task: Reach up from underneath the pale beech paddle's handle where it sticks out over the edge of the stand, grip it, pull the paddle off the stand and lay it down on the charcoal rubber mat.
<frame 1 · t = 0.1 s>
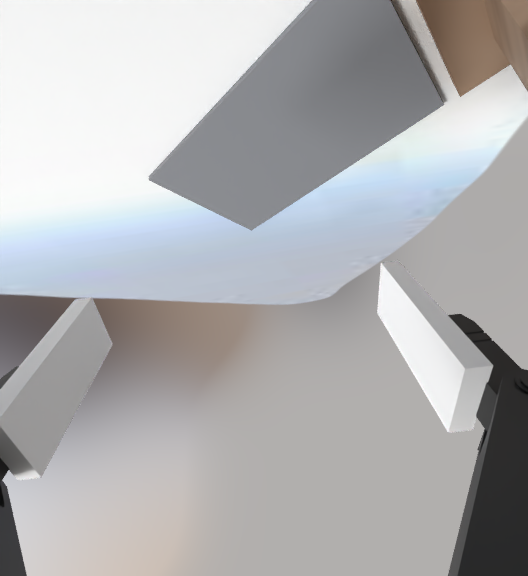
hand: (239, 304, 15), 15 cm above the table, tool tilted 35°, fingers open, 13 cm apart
mat: (285, 141, 26), on the table
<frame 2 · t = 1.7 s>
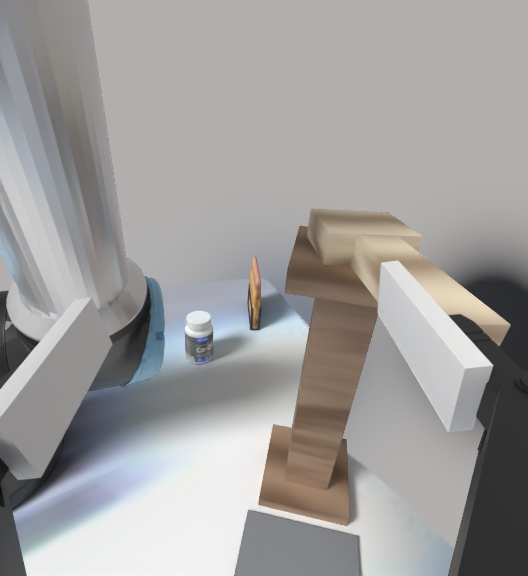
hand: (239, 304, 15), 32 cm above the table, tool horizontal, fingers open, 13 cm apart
ammunition clip: (253, 316, 72), on the table
paddle: (383, 282, 23), point 30 cm above the table, touching stand
stand: (305, 473, 42), on the table
pill bottle: (199, 356, 59), on the table
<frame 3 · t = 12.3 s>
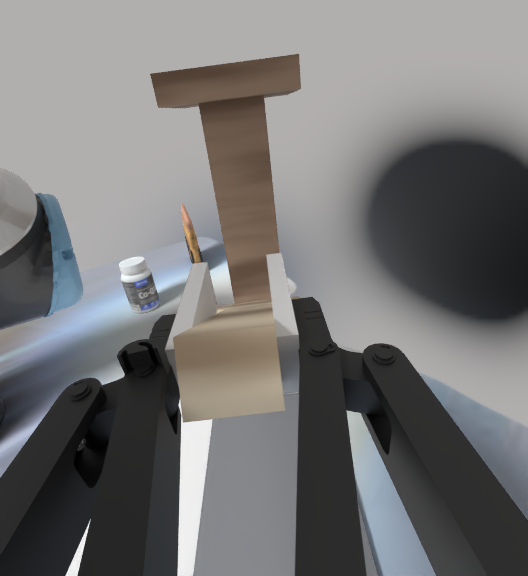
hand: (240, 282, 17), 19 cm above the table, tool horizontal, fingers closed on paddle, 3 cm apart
mat: (277, 493, 27), on the table
ammunition clip: (197, 265, 70), on the table
paddle: (251, 355, 18), point 15 cm above the table, tilted 28°, touching gripper
stand: (268, 360, 41), on the table
pill bottle: (146, 307, 57), on the table
when the fingers open (9 cm above the table, at t = 15.0 s): paddle drops 5 cm, resting on mat.
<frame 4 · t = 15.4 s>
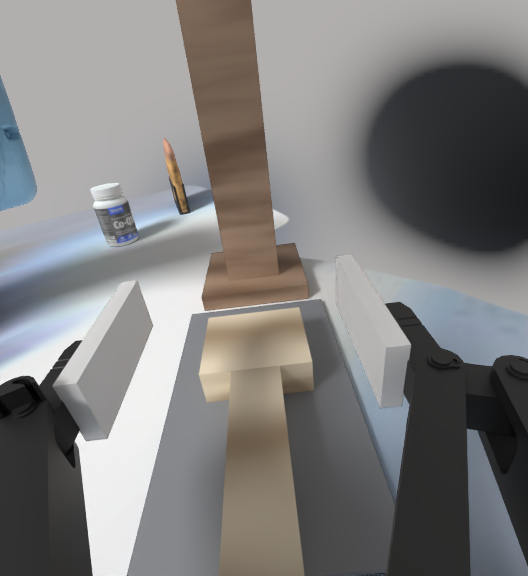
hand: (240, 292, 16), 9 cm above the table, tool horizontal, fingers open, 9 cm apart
mat: (260, 394, 22), on the table
ammunition clip: (182, 207, 65), on the table
paddle: (261, 430, 19), resting on mat
stand: (255, 279, 36), on the table
pill bottle: (124, 242, 52), on the table
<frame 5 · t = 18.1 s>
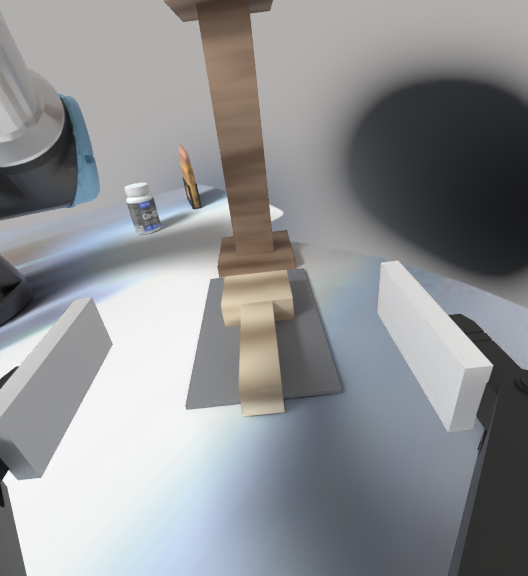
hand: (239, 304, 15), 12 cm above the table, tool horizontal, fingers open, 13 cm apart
mat: (259, 323, 34), on the table
ammunition clip: (194, 203, 77), on the table
paddle: (260, 338, 31), resting on mat
stand: (256, 256, 48), on the table
pill bottle: (149, 230, 63), on the table
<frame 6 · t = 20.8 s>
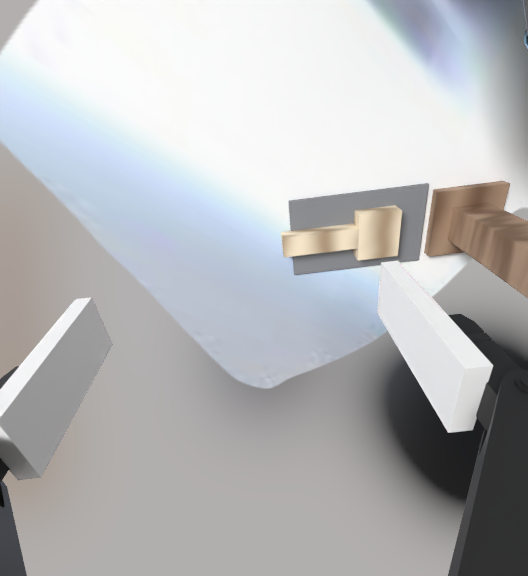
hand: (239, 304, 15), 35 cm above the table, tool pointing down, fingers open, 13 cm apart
mat: (356, 231, 51), on the table
paddle: (337, 234, 51), resting on mat
stand: (461, 218, 51), on the table
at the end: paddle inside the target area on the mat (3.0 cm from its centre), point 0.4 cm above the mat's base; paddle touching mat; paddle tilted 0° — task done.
